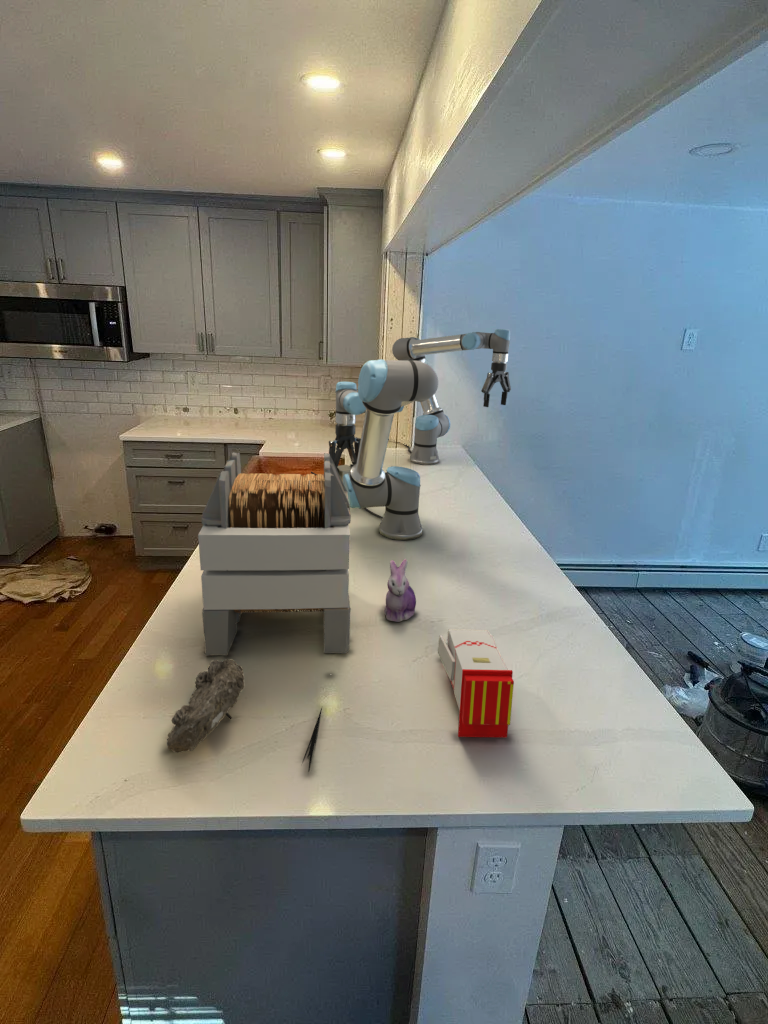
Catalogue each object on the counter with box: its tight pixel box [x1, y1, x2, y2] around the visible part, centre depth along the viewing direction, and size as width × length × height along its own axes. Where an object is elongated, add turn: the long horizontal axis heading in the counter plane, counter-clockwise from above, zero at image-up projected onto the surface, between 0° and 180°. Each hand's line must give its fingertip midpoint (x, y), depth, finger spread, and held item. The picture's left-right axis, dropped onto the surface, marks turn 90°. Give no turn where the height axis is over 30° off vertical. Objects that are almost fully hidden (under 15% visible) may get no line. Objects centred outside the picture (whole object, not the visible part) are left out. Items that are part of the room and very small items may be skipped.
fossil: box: [166, 658, 245, 754], centre depth 106 cm, size 22×10×15 cm
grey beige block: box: [337, 464, 352, 482], centre depth 220 cm, size 8×7×9 cm
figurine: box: [384, 558, 417, 623], centre depth 145 cm, size 9×10×15 cm
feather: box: [301, 673, 332, 771], centre depth 108 cm, size 2×28×2 cm
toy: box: [437, 628, 515, 738], centre depth 117 cm, size 12×13×30 cm
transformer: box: [197, 451, 352, 657], centre depth 136 cm, size 34×33×41 cm
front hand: (344, 482), depth 220 cm, fingers closed on grey beige block, 7 cm apart
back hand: (494, 405), depth 285 cm, fingers open, 13 cm apart
